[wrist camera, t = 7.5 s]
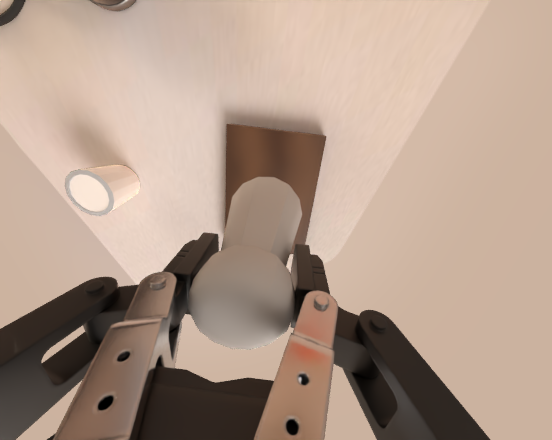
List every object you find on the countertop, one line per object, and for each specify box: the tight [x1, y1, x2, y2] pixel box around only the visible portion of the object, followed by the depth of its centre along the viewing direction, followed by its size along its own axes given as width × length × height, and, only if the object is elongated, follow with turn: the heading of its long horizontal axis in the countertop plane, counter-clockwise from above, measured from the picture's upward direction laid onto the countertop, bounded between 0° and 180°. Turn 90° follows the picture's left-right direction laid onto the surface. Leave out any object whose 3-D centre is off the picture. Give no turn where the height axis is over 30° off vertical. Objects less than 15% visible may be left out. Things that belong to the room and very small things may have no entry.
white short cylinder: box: [65, 165, 140, 216], centre depth 33 cm, size 7×7×7 cm
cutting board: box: [225, 124, 326, 254], centre depth 35 cm, size 14×20×2 cm
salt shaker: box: [188, 177, 302, 349], centre depth 14 cm, size 6×6×13 cm
